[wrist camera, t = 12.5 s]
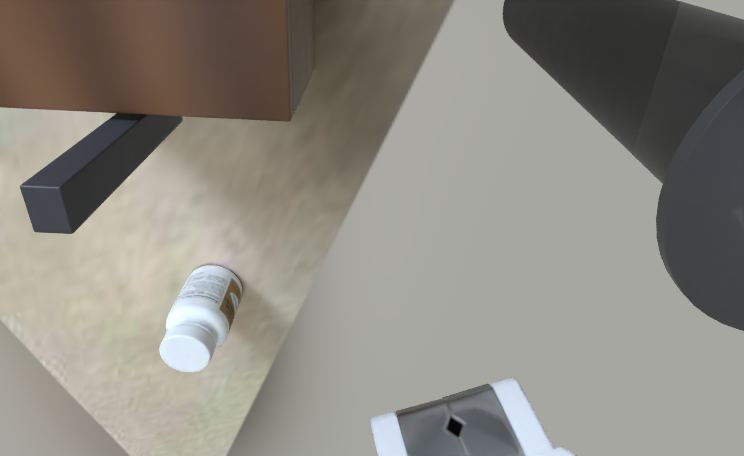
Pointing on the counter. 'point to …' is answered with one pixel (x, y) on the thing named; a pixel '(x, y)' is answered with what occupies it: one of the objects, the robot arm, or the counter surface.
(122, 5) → the cupboard
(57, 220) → the sliding door
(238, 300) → the pill bottle
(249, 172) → the counter surface
